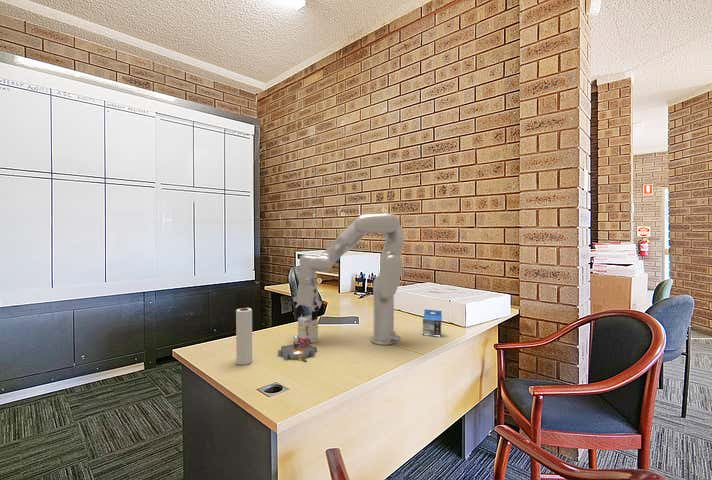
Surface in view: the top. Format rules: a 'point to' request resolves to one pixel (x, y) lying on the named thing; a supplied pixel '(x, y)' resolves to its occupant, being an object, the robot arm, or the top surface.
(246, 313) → the paper towel roll
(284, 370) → the top surface
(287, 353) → the sprocket
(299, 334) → the ink box
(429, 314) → the label tape cartridge
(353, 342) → the top surface
